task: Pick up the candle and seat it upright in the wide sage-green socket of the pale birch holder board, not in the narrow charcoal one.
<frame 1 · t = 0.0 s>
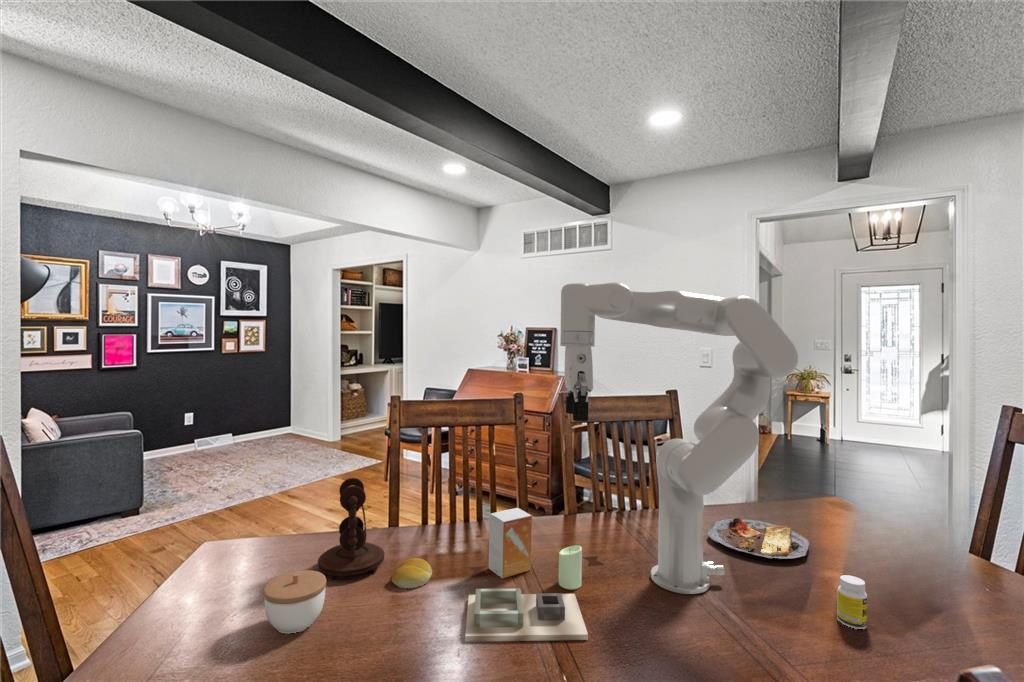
hand: (576, 416, 109), 37 cm above the table, tool pointing down, fingers open, 9 cm apart
bread roll: (412, 580, 110), on the table
food plate: (757, 544, 132), on the table
supplement bottle: (851, 624, 95), on the table
candle: (569, 584, 108), on the table
lidded jar: (295, 625, 92), on the table
holder board: (524, 618, 95), on the table
small box: (509, 570, 115), on the table
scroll: (351, 567, 115), on the table
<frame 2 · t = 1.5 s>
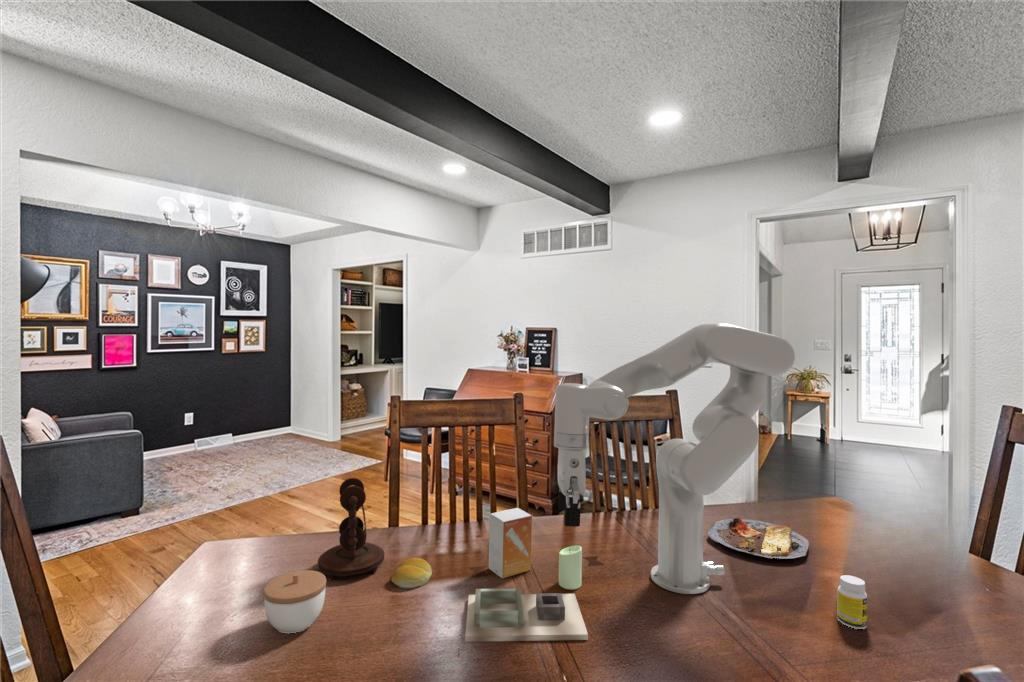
hand: (568, 517, 108), 15 cm above the table, tool pointing down, fingers open, 9 cm apart
nothing on the table moved.
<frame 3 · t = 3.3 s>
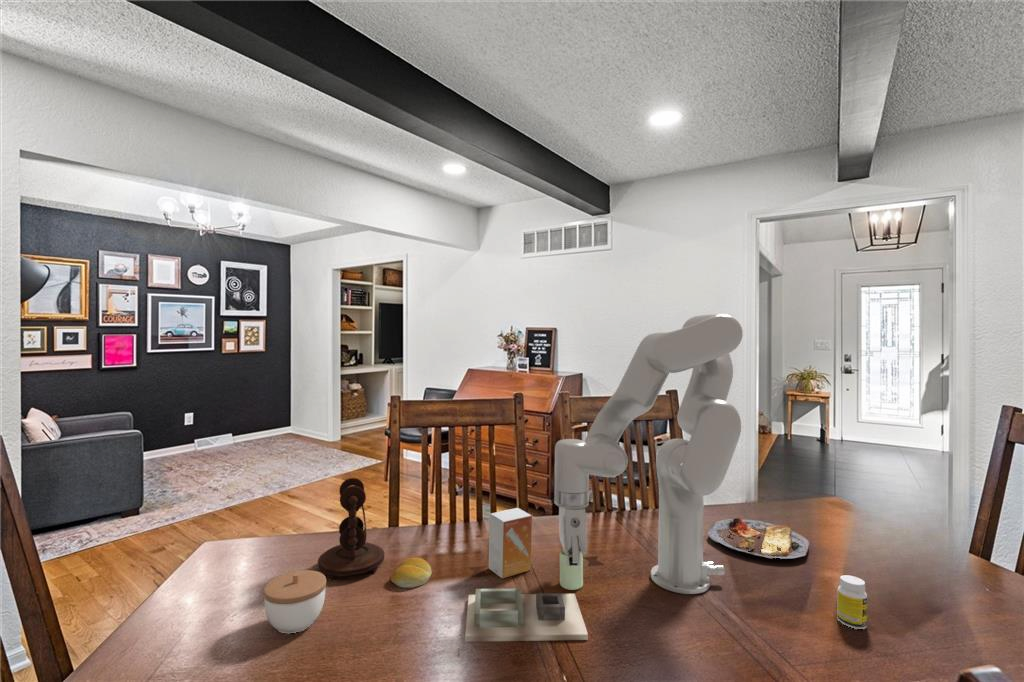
hand: (570, 579, 108), 1 cm above the table, tool pointing down, fingers closed on candle
candle: (571, 585, 108), on the table, touching gripper
everything else where it was.
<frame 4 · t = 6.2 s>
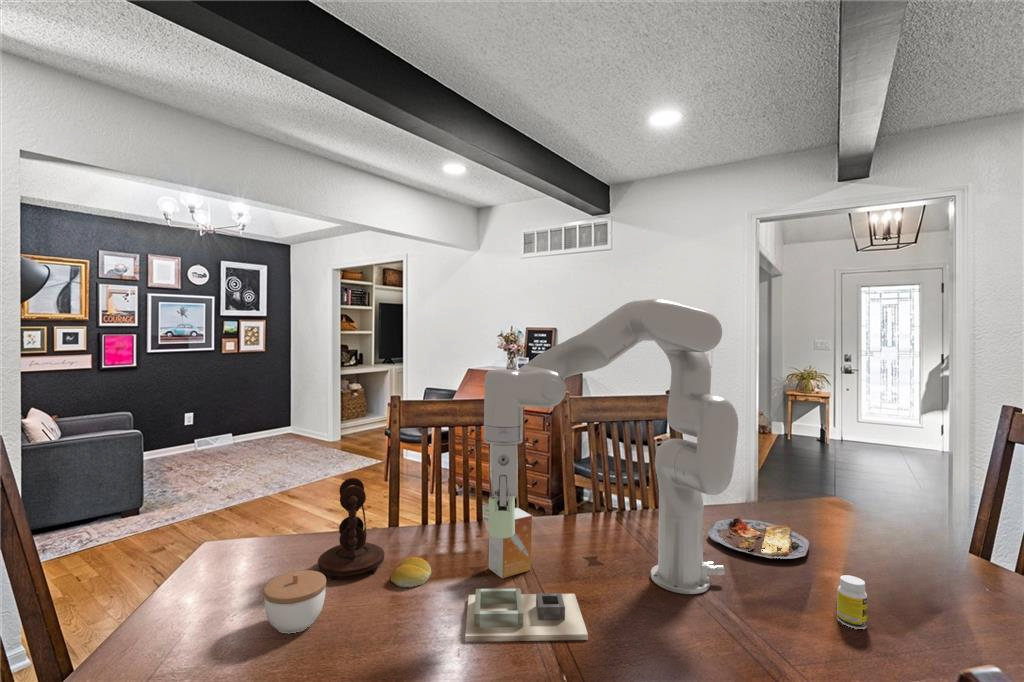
hand: (501, 528, 95), 17 cm above the table, tool pointing down, fingers closed on candle
candle: (501, 534, 95), point 16 cm above the table, touching gripper
everything else where it was.
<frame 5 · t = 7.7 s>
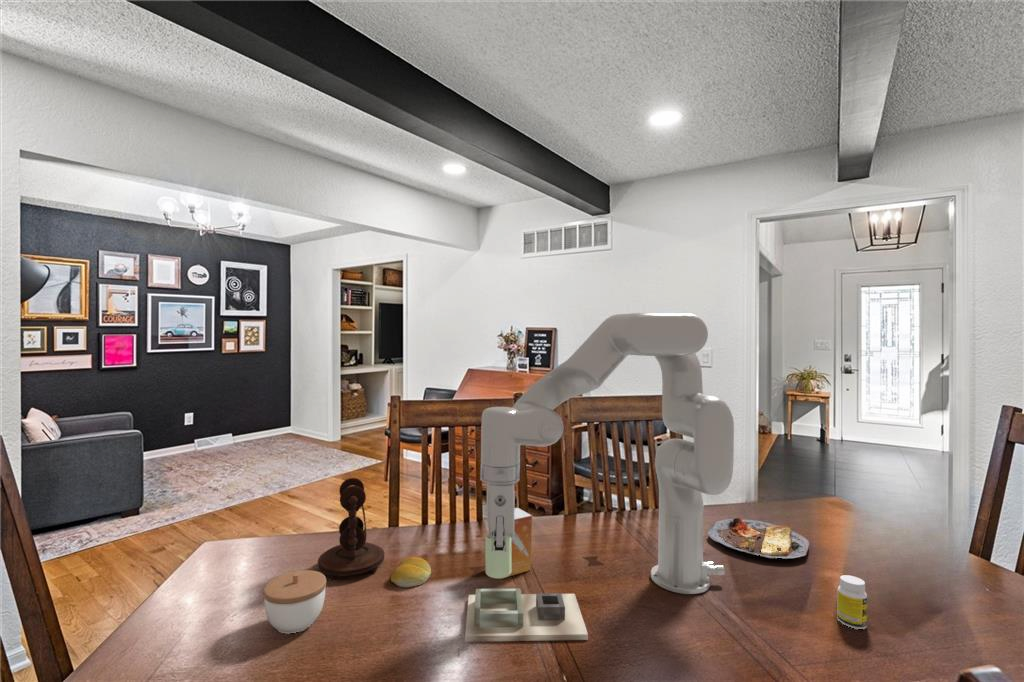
hand: (498, 566, 95), 10 cm above the table, tool pointing down, fingers closed on candle
candle: (498, 573, 94), point 9 cm above the table, touching gripper
everything else where it was.
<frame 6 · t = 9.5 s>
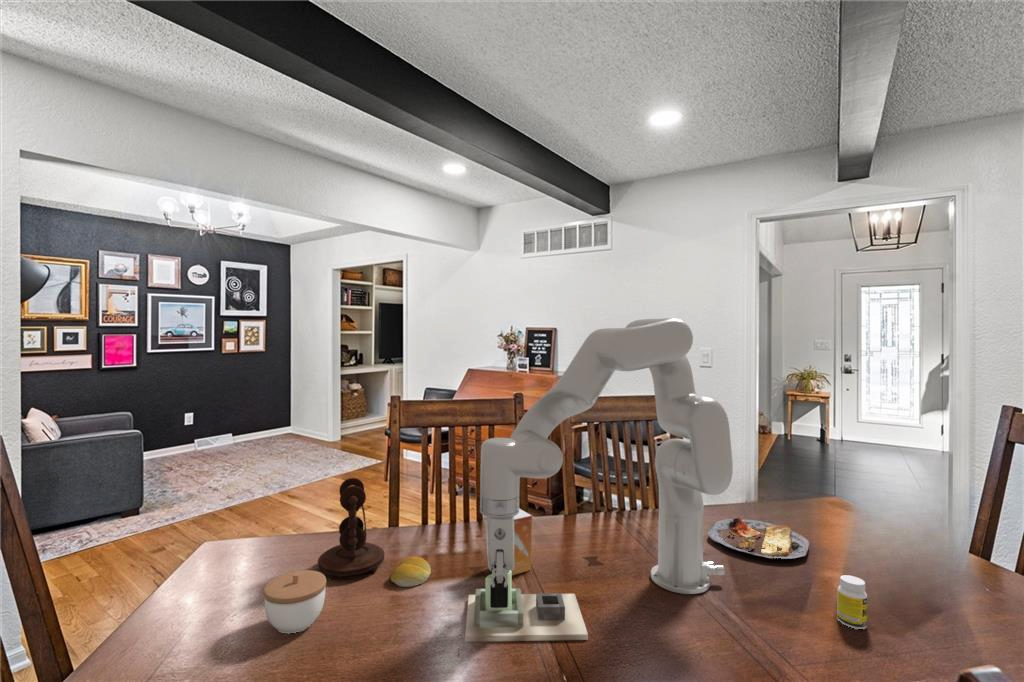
hand: (498, 594, 95), 5 cm above the table, tool pointing down, fingers open, 7 cm apart
candle: (498, 616, 94), point 1 cm above the table, touching holder board
everything else where it was.
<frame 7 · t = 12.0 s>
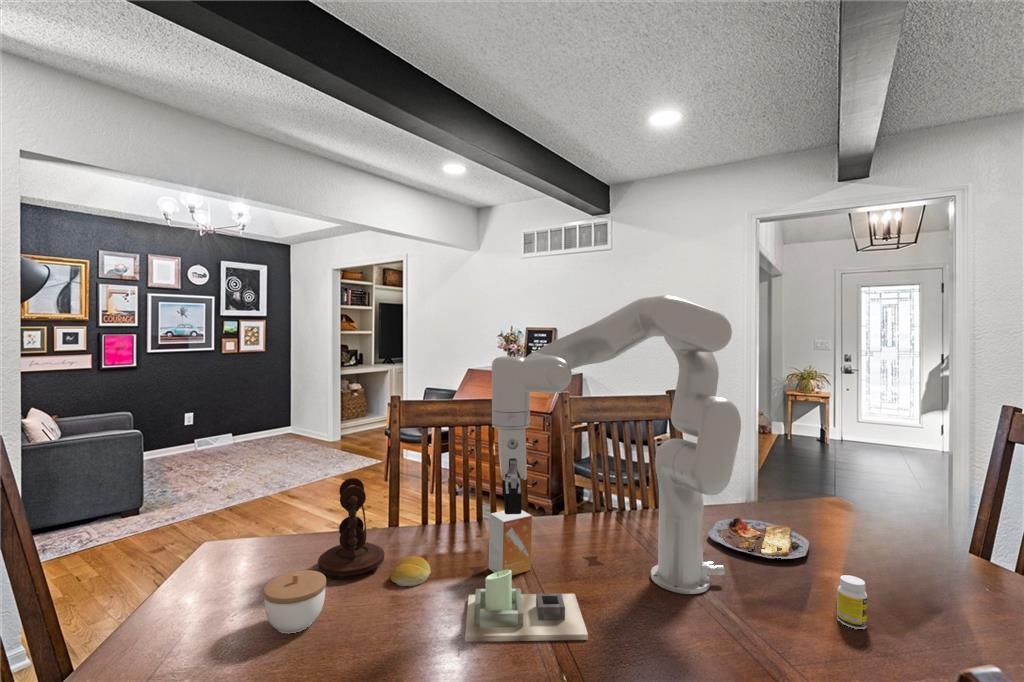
hand: (511, 504, 98), 21 cm above the table, tool pointing down, fingers open, 9 cm apart
nothing on the table moved.
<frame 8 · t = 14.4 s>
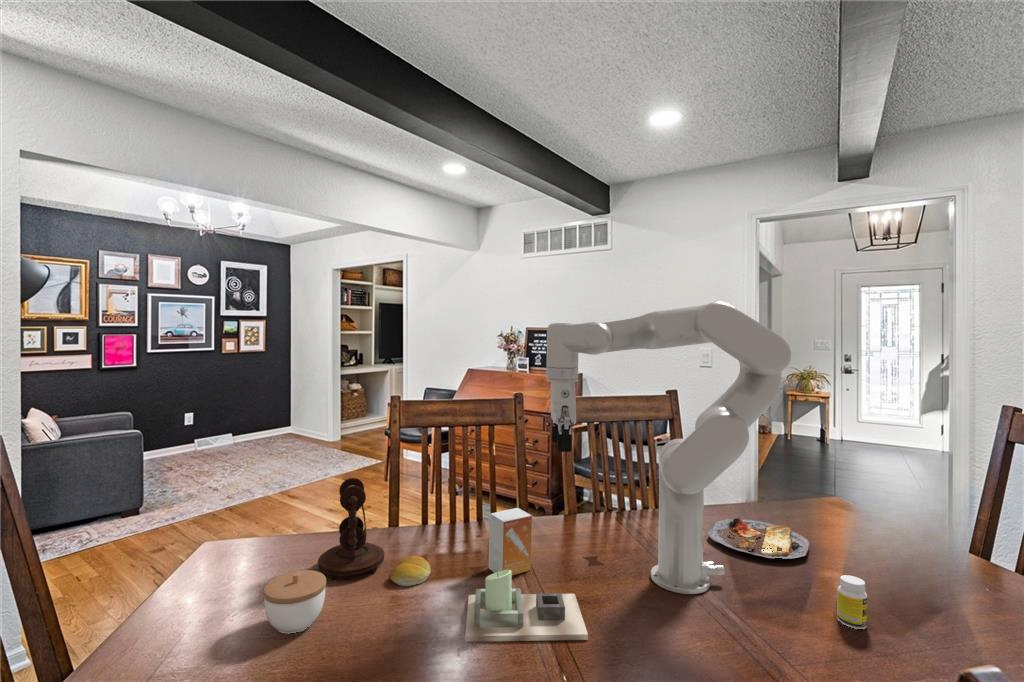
hand: (561, 446, 117), 28 cm above the table, tool pointing down, fingers open, 9 cm apart
at the end: candle 1.0 cm from the target spot on the holder board, point 1.0 cm above the holder board's base; candle tilted 5°; the gripper is holding nothing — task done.
